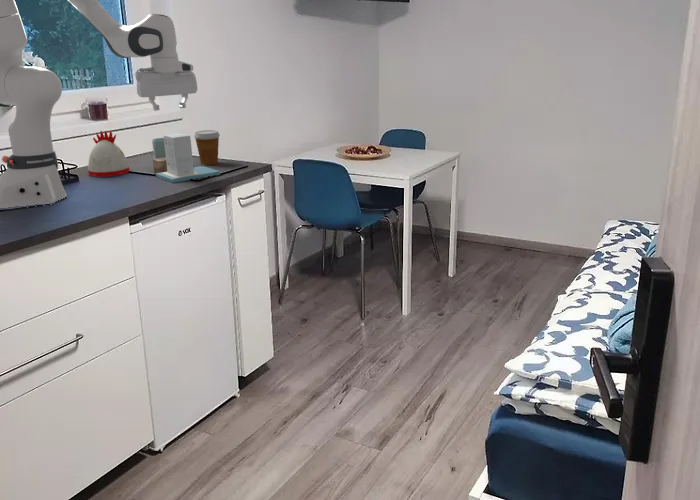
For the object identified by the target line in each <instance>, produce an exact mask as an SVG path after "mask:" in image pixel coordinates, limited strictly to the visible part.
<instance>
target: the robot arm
mask: <svg viewBox="0 0 700 500" xmlns="http://www.w3.org/2000/svg"><path fill="white" fill-rule="evenodd" d="M67 2H69V3H70V4H71V5H72V6H73V7H74V8H75V9H76V10H77V11H78V12H79V13H80V14H81V15H82V16H83V18H85V19H86V20H87V22H89V23H90V25H92V27H93V28H94V29H95V30H96V31H98V33H99V34H100V35H101V36H102V37H103V39H104V40H105V42H106V45H107V46H108V48H109V50H110V52H112V54H113V55H115V56H116V57H118V58H121V59H128V58H129V59H130V58H146V57H148V56H149V58H150V66H151V67H149V66H148V67H139V68H138V69H137V70H136V71H135V79H136V94H137V95H138V97H140V98H148V101H149V103H150V104H151V105H152V108H153V109H152V110H153V111H160V109H161V108H160V105H159V104H157V103H156V97H164V96H179V95H181V98H182V99H181V101H180V102H178V105H179V108H180V109H186V108H187V105H186V103H187V101H188V98H189V95H191V94H196V93H197V91H198V83H197V76H196V74H195V73H194V72H193V71H194V65H192V63H188V62H184V61H181V60H179V54H178V52H177V44H178V43H177V41H178V40H177V35H176V28H175V25H174V22H173V19H172V18H171V17H169V16H168V15H165V14H159V13H158V14H157V13H149V14H148V15H147V16H146V17H145V18H144V19H143V20H141V21H139V22H138V23H135V24H134V25H125V24H122V23H120V22H118V21H117V20H116V19H115V18H114V17H113V16H112V15H111V14H110V13H109V12H108V11H107V10H106V9H105V8H104V7H103V6H102V4H101V3H100V1H99V0H67ZM27 45H28V37H27V33H26V31H25V28H24V24H23V21H22V18H21V15H20V13H19V9H18V6H17V4H16V1H15V0H0V104H2V105H4V106H15V109H16V110H15V118H14V120H13V122H11V124H9V126H8V129H7V131H8V136H9V141H10V145H11V150H12V154H11V155H9V156H7V155H3V156H2V157H1V161H2V162H3V163H5V164H6V165H7V166H6V167H7V169H6V170H4V172H2V174H1V175H0V208H8V207H15V206H26V205H35V204H49V203H54V202H56V201H57V202H59V201H62V200H63V198H64V199H65V197H66V198H67V197H68V194H67V192H66V191H65V188H64V186H63V183H62V180H61V177H60V174H59V162H58V157H57V154H56V151H55V150H54V146H53V139H52V132H51V119H52V112H53V109H54V106H55V105H56V104H57V102H58V101H59V100H60V98H61V97H62V92H63V86H62V82H61V79H60V78H59V77H58V75H57V74H56V73H55V72H53V71H52V70H49V69H46V68H42V67H39V66H24V61H23V51H24V50H25V48H26V47H27ZM61 199H62V200H61ZM58 200H59V201H58ZM57 202H56V203H57ZM54 204H55V203H54Z"/></svg>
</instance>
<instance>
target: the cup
mask: <svg viewBox="0 0 700 500" xmlns="http://www.w3.org/2000/svg"><path fill="white" fill-rule="evenodd" d="M151 141H152V142H151V143H152V144H151V145H152V153H153V159H158V158H165V157H166V154H165V145H164V137H159V138H153V139H152V140H151Z"/></svg>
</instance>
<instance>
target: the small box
mask: <svg viewBox="0 0 700 500" xmlns="http://www.w3.org/2000/svg"><path fill="white" fill-rule="evenodd" d="M163 138H164V145H165V154H166V163H167V172H168V173H171V174H174V175H177V176H179V175H185V174H191V173H194V167H195V166H194V159H193V151H192V141H191V139H192V138H191V135H189V134H184V133H171V134H163Z"/></svg>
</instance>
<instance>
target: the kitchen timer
mask: <svg viewBox="0 0 700 500" xmlns="http://www.w3.org/2000/svg"><path fill="white" fill-rule="evenodd" d="M107 132H108V131H107V130H105V131H104V132H103V131H102V130H100V131H99V133H100V135H99V133H97V134H95V135H96V137H97V139H96V138H95V137H92V139H93V141H94V143H95V145H94V146H93V147H92V149H91V152H90V154H89V157H88V162H87V163H88V164H87V172H88V173H87V174H88V175H89V176H91V177H97V178H98V177H99V178H100V177H102V178H103V177H105V178H106V177H113V176H114V177H115V176H121V175H125V174H128V173H129V172H130V165H129V162H128V160H127V159H128V158H126V155H125V153H124V152H123V151H122V149H121V148H120V146H119V145H118V144H116V143H115V140H116V137H117V134H114V135H113V131H109V135H108V133H107Z"/></svg>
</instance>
